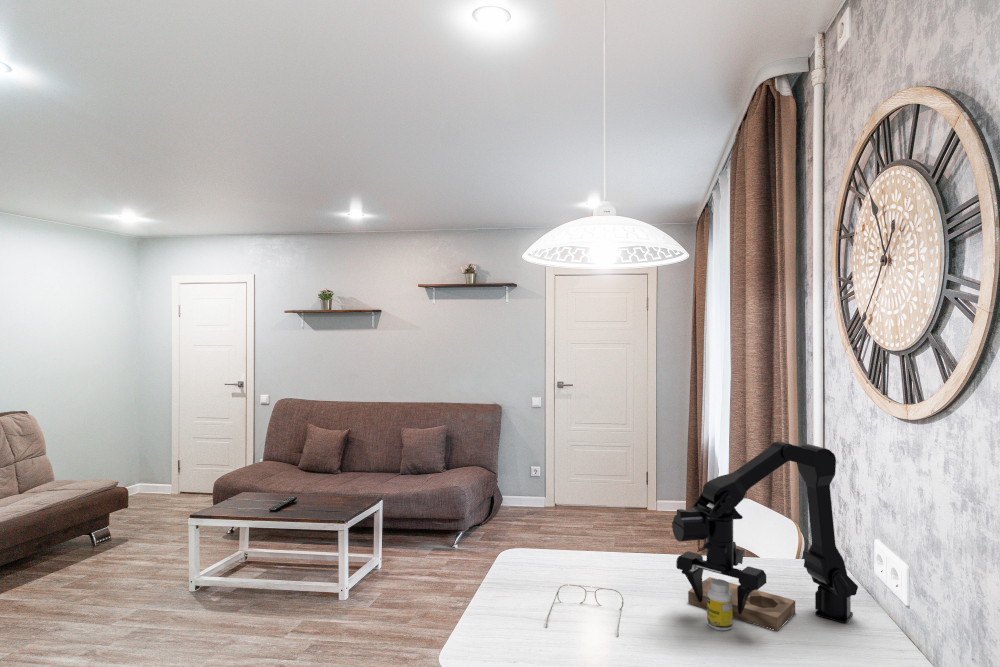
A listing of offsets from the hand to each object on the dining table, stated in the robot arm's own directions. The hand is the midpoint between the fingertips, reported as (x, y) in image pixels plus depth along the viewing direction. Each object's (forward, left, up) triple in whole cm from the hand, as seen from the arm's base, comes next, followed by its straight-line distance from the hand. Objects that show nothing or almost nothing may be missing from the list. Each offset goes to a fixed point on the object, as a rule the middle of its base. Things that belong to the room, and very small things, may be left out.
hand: (720, 607), depth 140 cm
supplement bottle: (0, 0, -4) cm, 4 cm away
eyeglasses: (+25, +17, -5) cm, 30 cm away
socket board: (0, -12, -4) cm, 13 cm away
